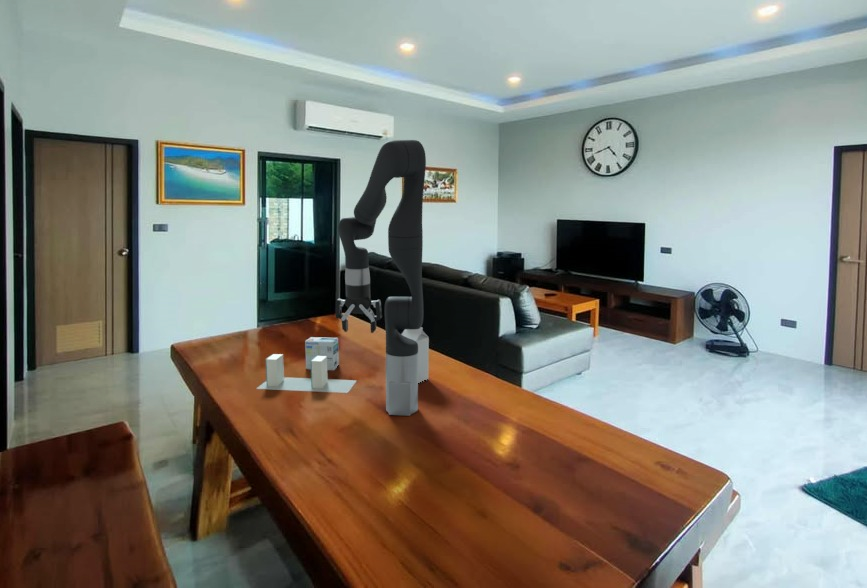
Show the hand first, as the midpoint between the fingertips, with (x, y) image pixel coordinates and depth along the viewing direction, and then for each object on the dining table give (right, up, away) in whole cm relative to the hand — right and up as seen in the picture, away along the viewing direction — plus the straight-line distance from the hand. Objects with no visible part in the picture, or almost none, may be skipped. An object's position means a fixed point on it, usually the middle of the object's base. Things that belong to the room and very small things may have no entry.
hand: (359, 331), depth 163 cm
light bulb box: (-17, -15, +26) cm, 34 cm away
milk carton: (+17, -18, +13) cm, 27 cm away
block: (-14, -18, +7) cm, 24 cm away
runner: (-18, -18, +7) cm, 26 cm away
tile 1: (-29, -18, +8) cm, 35 cm away
